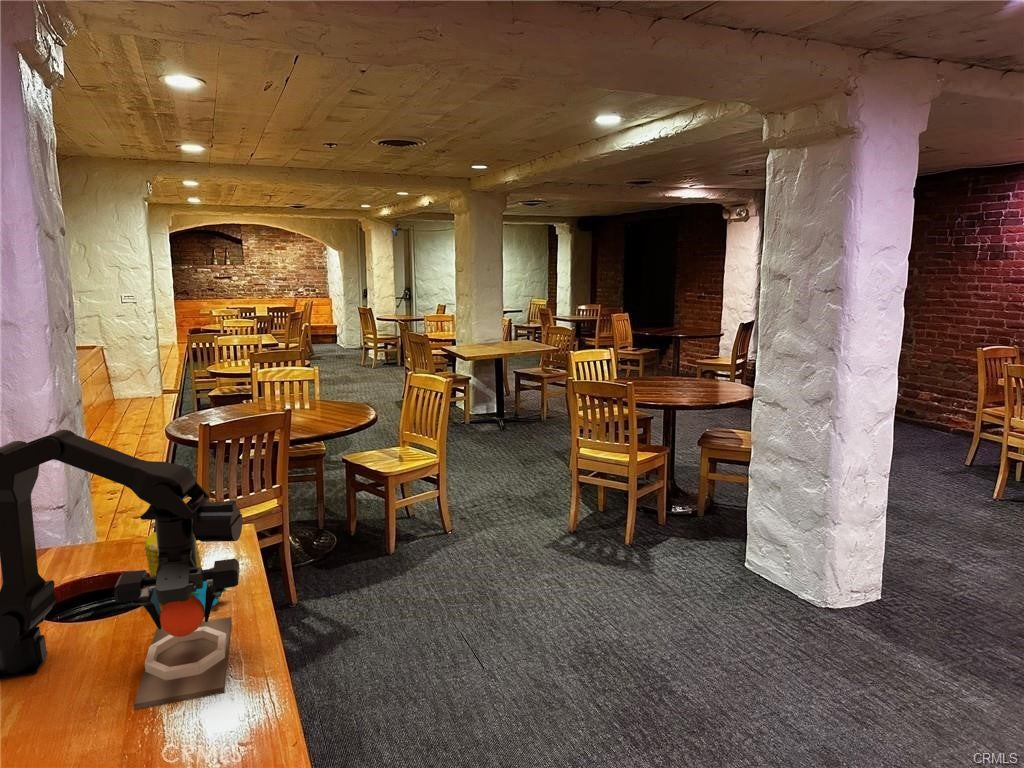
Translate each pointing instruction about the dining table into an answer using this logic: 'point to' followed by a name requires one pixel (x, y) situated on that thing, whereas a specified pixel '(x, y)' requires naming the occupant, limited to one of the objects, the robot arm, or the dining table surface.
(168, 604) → the clementine
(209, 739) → the dining table surface
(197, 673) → the seat ring
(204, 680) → the board
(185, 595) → the robot arm
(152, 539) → the food
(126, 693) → the dining table surface
